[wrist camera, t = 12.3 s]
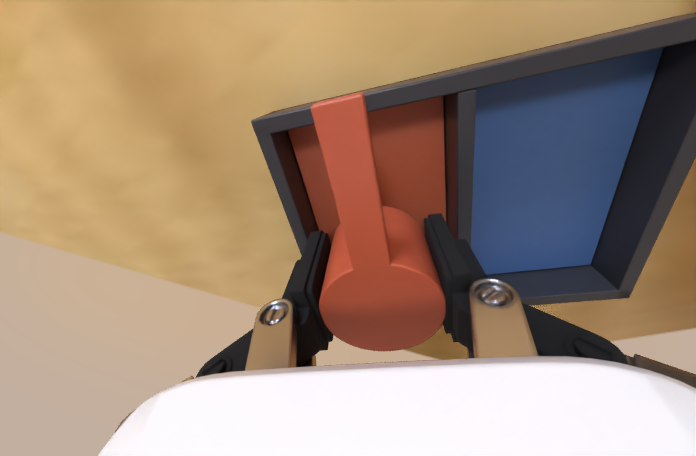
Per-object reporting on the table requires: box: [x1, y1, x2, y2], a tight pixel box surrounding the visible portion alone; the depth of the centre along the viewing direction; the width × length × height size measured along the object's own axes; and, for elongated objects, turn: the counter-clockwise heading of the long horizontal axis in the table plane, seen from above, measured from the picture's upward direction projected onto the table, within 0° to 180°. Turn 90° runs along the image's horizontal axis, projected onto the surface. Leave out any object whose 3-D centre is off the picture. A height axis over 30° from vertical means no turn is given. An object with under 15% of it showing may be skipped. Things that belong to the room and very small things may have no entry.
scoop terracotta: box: [311, 92, 446, 351], centre depth 9 cm, size 4×9×4 cm, turn 12°
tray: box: [251, 13, 696, 306], centre depth 12 cm, size 15×11×2 cm
